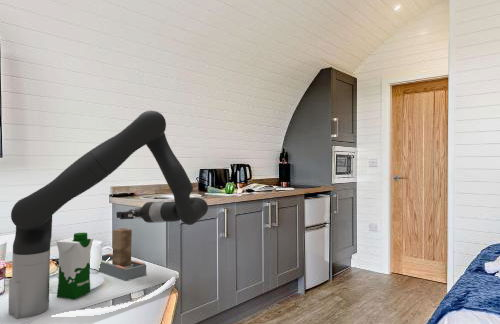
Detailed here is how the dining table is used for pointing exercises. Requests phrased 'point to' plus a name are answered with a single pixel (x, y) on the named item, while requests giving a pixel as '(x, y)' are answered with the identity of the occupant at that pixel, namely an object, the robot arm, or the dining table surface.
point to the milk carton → (74, 266)
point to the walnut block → (122, 247)
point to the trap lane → (122, 269)
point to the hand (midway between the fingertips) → (126, 213)
